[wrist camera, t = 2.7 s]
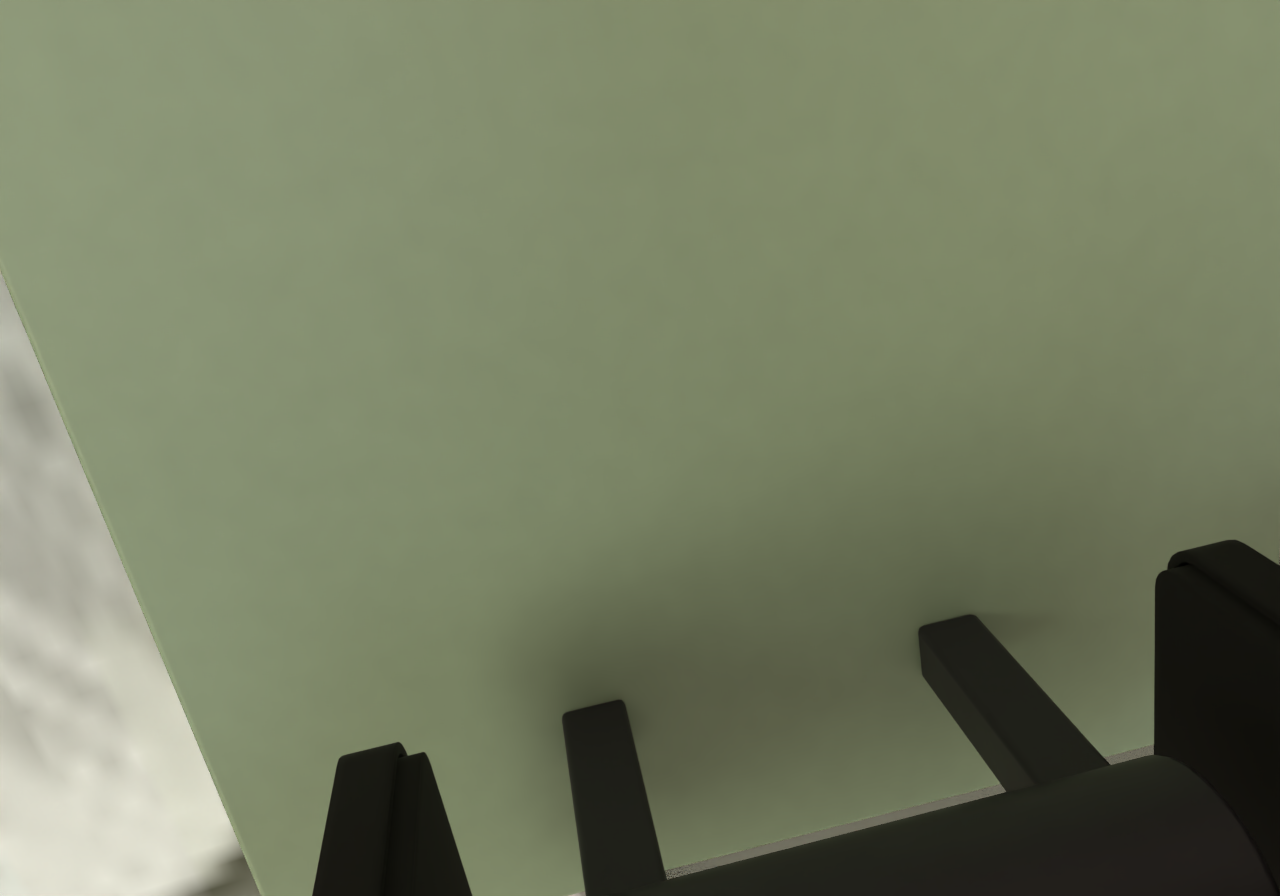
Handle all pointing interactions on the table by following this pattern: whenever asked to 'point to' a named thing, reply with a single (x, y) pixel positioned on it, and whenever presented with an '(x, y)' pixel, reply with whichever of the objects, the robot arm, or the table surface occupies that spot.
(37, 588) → the table surface
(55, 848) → the table surface
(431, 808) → the robot arm
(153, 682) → the table surface
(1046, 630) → the box lid
